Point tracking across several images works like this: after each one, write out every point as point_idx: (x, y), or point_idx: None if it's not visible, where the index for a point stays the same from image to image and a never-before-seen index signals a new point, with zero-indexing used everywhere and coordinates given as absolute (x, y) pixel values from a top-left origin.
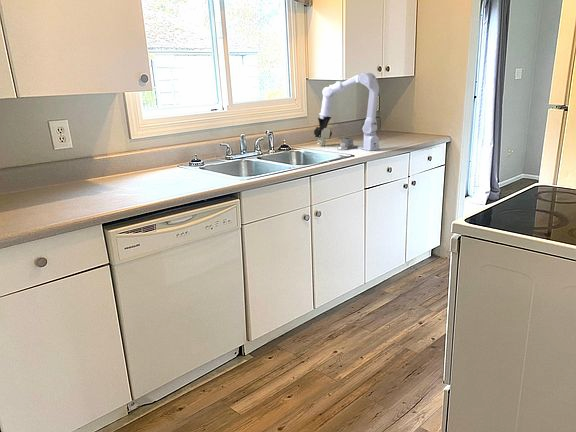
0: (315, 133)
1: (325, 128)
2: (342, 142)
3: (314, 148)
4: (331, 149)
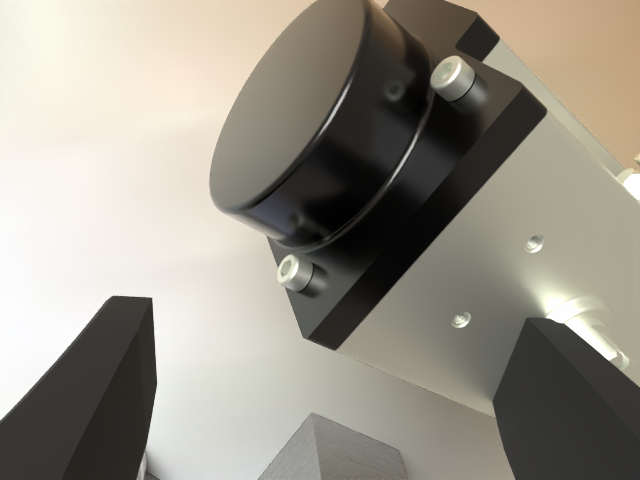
0: (287, 53)
1: (450, 399)
2: (310, 470)
3: (67, 38)
4: (42, 337)
